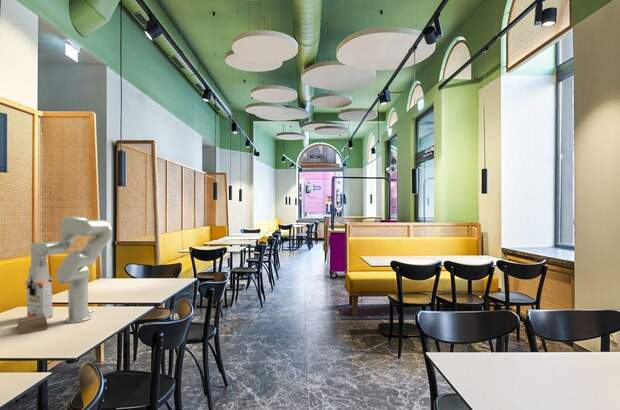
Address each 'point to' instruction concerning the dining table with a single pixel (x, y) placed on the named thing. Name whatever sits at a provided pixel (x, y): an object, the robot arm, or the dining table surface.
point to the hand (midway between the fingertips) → (39, 293)
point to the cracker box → (40, 300)
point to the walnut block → (32, 324)
